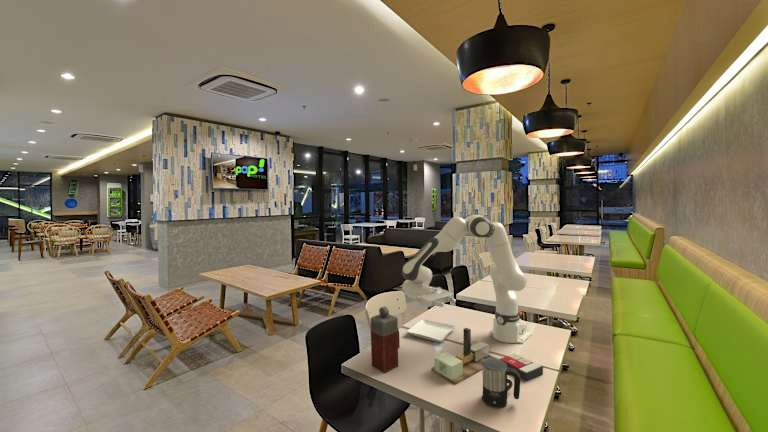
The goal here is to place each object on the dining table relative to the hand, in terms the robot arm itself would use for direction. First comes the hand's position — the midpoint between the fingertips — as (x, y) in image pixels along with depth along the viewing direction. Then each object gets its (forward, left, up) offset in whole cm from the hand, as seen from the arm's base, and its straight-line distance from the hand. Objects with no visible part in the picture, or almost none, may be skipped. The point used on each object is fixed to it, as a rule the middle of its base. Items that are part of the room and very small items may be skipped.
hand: (449, 303), depth 158 cm
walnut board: (+1, +11, -26) cm, 28 cm away
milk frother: (+8, +33, -26) cm, 43 cm away
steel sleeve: (-8, +11, -26) cm, 29 cm away
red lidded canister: (+29, -12, -26) cm, 41 cm away
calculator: (-15, +28, -27) cm, 42 cm away
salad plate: (-11, -23, -27) cm, 37 cm away
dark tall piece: (-3, +11, -24) cm, 26 cm away
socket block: (+13, +11, -26) cm, 31 cm away
